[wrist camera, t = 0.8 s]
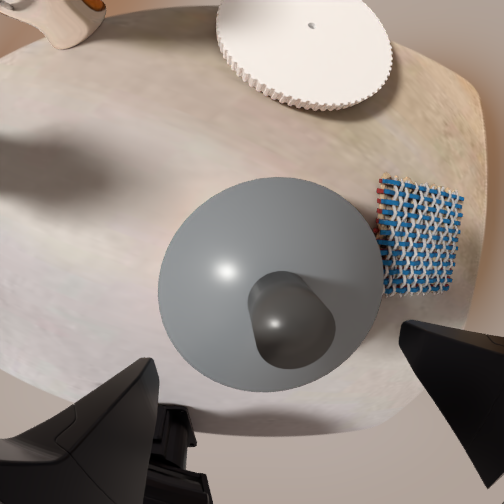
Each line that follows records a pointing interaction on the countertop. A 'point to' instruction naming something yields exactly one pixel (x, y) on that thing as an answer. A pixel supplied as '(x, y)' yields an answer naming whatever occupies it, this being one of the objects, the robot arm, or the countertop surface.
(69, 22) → the beer glass
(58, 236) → the countertop surface
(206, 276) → the cover
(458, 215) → the woven mat
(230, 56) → the plastic lid
